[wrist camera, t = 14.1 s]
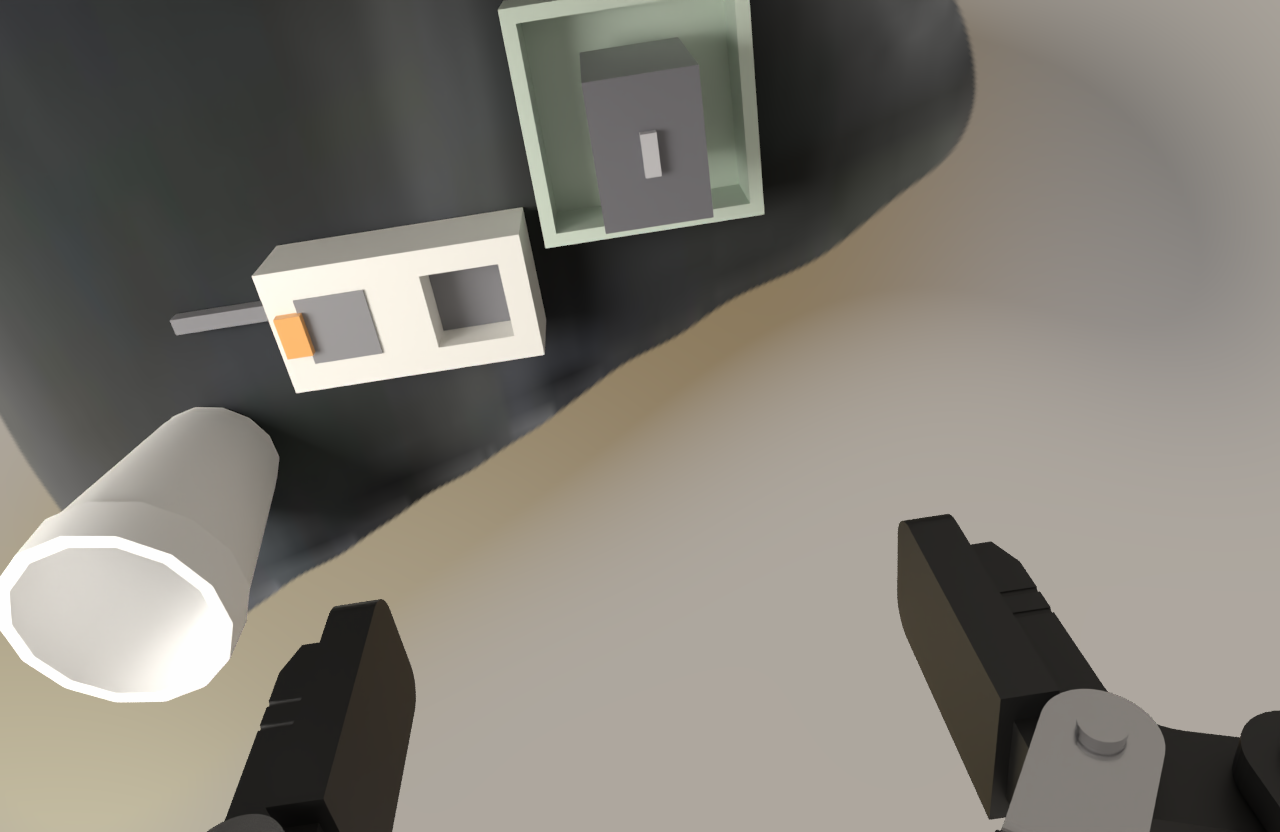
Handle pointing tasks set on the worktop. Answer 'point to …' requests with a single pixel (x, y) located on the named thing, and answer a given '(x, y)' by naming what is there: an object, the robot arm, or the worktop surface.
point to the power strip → (395, 301)
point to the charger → (647, 134)
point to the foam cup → (147, 564)
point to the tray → (556, 116)
